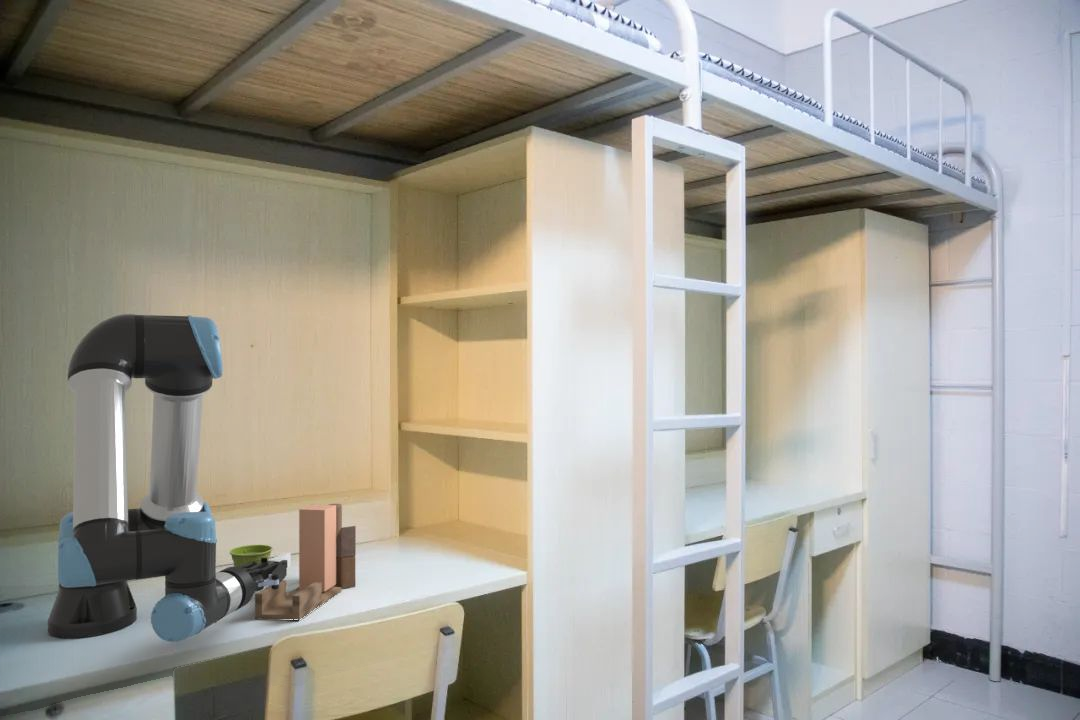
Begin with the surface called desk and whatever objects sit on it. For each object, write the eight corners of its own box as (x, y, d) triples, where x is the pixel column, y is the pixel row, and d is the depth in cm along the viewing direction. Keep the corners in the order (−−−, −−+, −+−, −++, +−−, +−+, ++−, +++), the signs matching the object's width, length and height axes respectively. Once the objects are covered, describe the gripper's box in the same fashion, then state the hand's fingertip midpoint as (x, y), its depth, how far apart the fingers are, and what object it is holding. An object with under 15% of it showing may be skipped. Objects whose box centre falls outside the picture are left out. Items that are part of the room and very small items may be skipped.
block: (324, 591, 165) (324, 510, 165) (299, 590, 166) (299, 509, 166) (336, 584, 171) (336, 505, 171) (311, 582, 172) (311, 504, 172)
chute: (299, 621, 150) (299, 596, 150) (255, 618, 151) (255, 594, 151) (341, 591, 170) (341, 569, 170) (301, 589, 171) (301, 568, 171)
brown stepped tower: (341, 589, 171) (341, 511, 171) (323, 579, 180) (323, 504, 180) (356, 586, 173) (356, 509, 174) (338, 576, 182) (338, 502, 182)
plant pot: (281, 584, 175) (281, 547, 175) (245, 595, 167) (245, 556, 167) (256, 578, 180) (256, 542, 180) (220, 588, 173) (220, 550, 173)
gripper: (189, 612, 132) (257, 576, 156) (258, 615, 131) (317, 578, 154) (189, 570, 132) (257, 540, 156) (258, 572, 131) (317, 541, 154)
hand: (287, 559), depth 155 cm, fingers closed
